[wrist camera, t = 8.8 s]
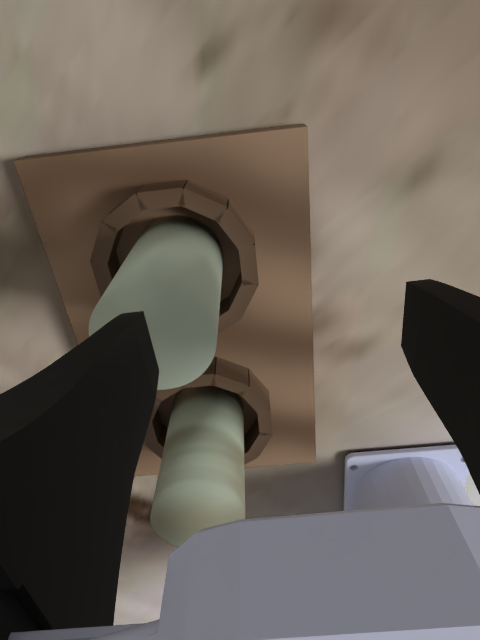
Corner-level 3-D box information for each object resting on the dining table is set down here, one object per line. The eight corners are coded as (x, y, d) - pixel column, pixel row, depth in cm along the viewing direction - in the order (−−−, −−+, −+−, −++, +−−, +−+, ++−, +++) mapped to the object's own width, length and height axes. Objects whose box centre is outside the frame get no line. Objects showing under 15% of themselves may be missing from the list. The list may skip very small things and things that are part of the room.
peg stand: (312, 447, 27) (340, 578, 20) (129, 462, 28) (91, 595, 20) (303, 123, 18) (348, 152, 10) (26, 156, 18) (-111, 204, 11)
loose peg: (227, 294, 20) (223, 385, 14) (145, 300, 20) (105, 393, 14) (218, 211, 18) (208, 276, 12) (127, 218, 18) (73, 286, 12)
